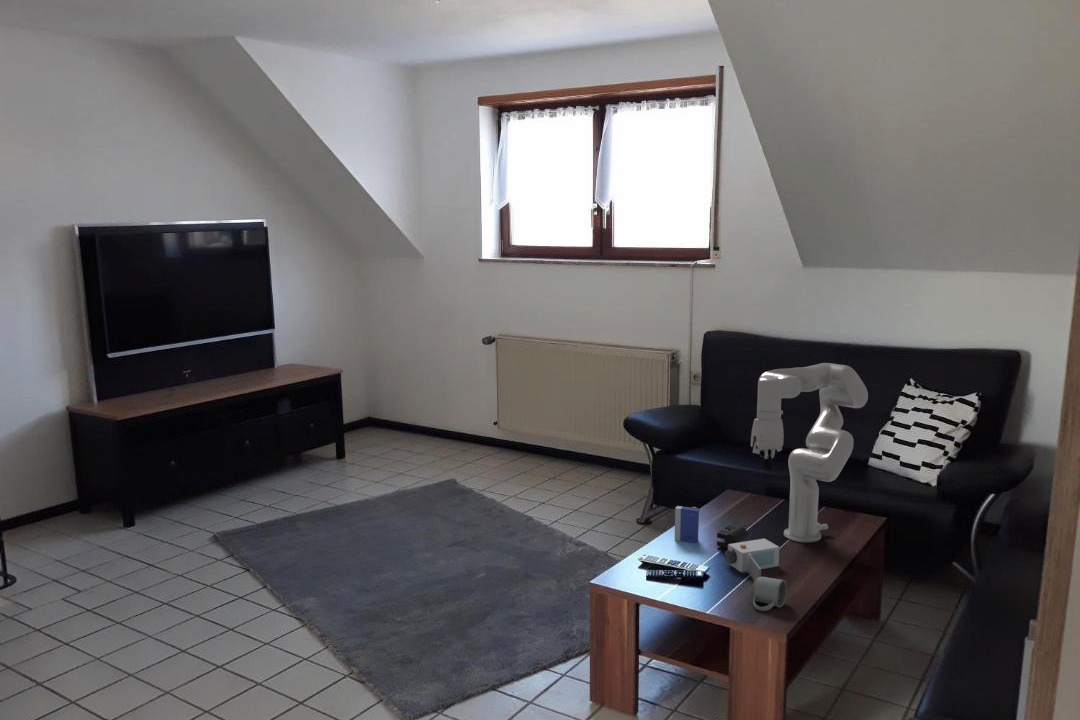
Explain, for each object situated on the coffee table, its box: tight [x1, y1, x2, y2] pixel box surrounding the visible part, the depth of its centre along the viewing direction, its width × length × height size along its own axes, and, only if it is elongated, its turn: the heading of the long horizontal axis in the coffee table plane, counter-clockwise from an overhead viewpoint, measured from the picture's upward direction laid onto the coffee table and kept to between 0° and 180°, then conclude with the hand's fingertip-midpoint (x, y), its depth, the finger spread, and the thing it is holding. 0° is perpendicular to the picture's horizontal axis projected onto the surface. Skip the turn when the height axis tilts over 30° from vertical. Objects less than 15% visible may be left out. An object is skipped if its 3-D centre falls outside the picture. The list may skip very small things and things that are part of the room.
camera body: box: [724, 538, 780, 573], centre depth 276 cm, size 16×8×7 cm, turn 111°
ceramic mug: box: [751, 576, 788, 612], centre depth 248 cm, size 11×8×8 cm
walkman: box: [674, 505, 700, 544], centre depth 298 cm, size 8×3×12 cm, turn 68°
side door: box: [746, 554, 762, 582], centre depth 265 cm, size 12×1×6 cm, turn 3°
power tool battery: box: [716, 525, 749, 553], centre depth 291 cm, size 10×7×7 cm
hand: (766, 469), depth 282 cm, fingers closed
